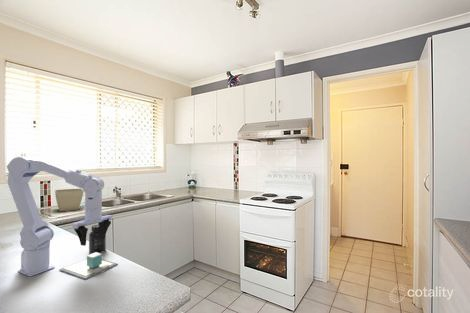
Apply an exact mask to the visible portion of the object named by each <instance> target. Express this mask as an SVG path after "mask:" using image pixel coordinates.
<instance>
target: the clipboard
mask: <svg viewBox="0 0 470 313" xmlns="http://www.w3.org/2000/svg"><path fill="white" fill-rule="evenodd" d="M116 266H118V263H117V262H112V261H109V260H106V259H103V258H102V264H100V265H99V267H98V268H95V269H90V268H89V266H87V258H85V259H83V260H80V261H78V262H75V263H72V264H70V265H67V266H65V267H64V266H63V267H62V268H60V269H59V271H60V272H63V273H66V274H68V275H71V276H74V277H76V278H79V279H81V280H85V281H86V280H88V279H90V278H93V277H95V276H96V275H97V276H98V275H99V274H101V273H102V272H105V271H107V270H109V269H112V268H114V267H116Z"/></svg>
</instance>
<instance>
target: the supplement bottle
mask: <svg viewBox="0 0 470 313" xmlns="http://www.w3.org/2000/svg"><path fill="white" fill-rule="evenodd" d="M90 230H91V231H90V232H89V234H88V252H89V254H92V253H95V252H97V253H101V254H102V253H103V252H105V250H107V247H106V246H107V234H106V235H105V239H100V230H99V224H98V223H97V224H92V226H91V229H90Z"/></svg>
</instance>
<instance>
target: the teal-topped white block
mask: <svg viewBox="0 0 470 313" xmlns="http://www.w3.org/2000/svg"><path fill="white" fill-rule="evenodd" d="M86 259H87V266H89V268H90V269H95V268H98V267H99V265H100V264H102V259H103V253H102V252H101V253H97V252H95V253H92V254H91V253H89V254H88V255H86Z"/></svg>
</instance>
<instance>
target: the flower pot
mask: <svg viewBox="0 0 470 313" xmlns="http://www.w3.org/2000/svg"><path fill="white" fill-rule="evenodd" d="M54 195H55V196H54V197H55V200H56V203H57V207H58V210H59V212H69V211H79V209H80V206H81V203H82V200H83V196H84V191H83V189H81V188H65V189H55V190H54Z"/></svg>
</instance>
